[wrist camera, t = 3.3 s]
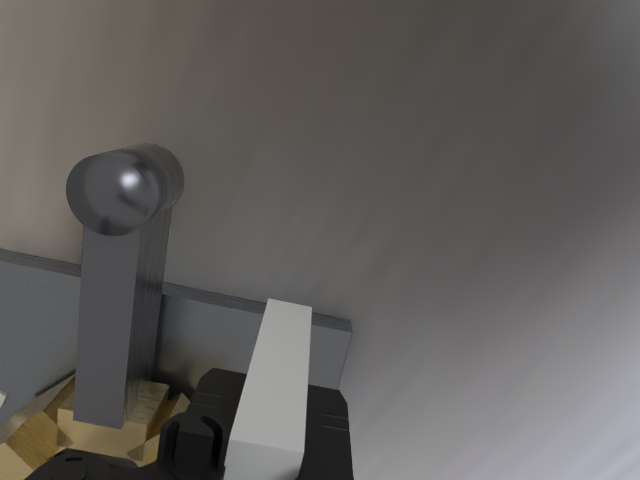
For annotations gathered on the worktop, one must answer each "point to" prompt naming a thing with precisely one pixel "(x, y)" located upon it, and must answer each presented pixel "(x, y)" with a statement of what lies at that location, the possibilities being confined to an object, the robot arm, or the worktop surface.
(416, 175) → the worktop surface
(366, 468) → the worktop surface
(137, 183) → the grey lever
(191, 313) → the base plate
